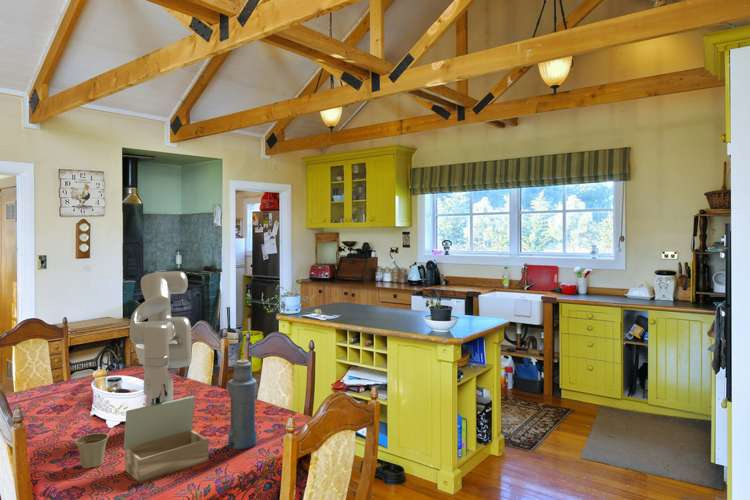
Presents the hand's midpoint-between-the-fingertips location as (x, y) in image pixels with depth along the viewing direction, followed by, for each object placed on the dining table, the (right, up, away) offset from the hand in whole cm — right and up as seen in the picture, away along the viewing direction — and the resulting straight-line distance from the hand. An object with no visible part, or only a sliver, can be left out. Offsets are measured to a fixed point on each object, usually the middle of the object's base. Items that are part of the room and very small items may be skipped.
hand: (157, 417), depth 170 cm
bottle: (+25, -14, +12) cm, 31 cm away
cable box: (+5, -14, -5) cm, 16 cm away
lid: (+2, -1, -2) cm, 3 cm away
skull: (-33, -13, +77) cm, 85 cm away
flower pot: (-19, -14, -4) cm, 24 cm away
